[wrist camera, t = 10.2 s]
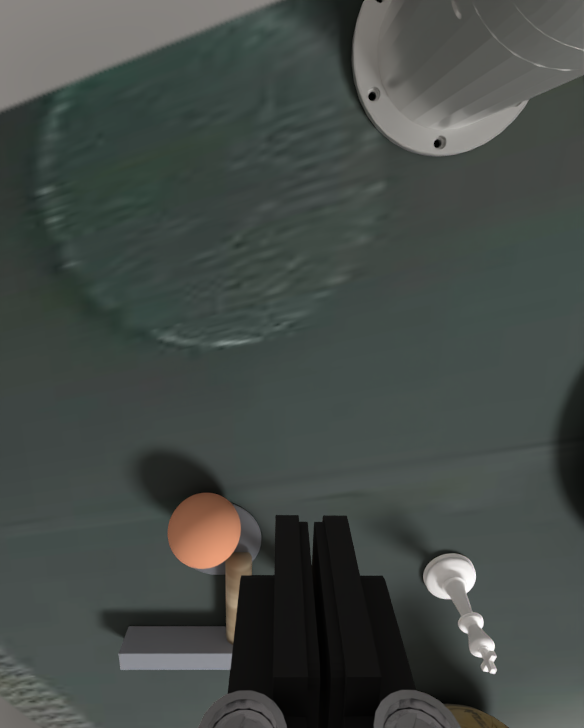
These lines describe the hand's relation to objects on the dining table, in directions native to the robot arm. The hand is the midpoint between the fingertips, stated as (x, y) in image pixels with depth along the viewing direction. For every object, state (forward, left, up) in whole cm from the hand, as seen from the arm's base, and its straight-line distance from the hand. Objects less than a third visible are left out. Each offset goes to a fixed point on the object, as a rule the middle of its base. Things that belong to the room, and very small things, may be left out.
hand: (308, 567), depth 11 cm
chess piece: (+25, +16, -27) cm, 40 cm away
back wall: (+32, -6, -27) cm, 43 cm away
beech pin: (+22, -4, -26) cm, 35 cm away
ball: (+18, -7, -24) cm, 31 cm away
